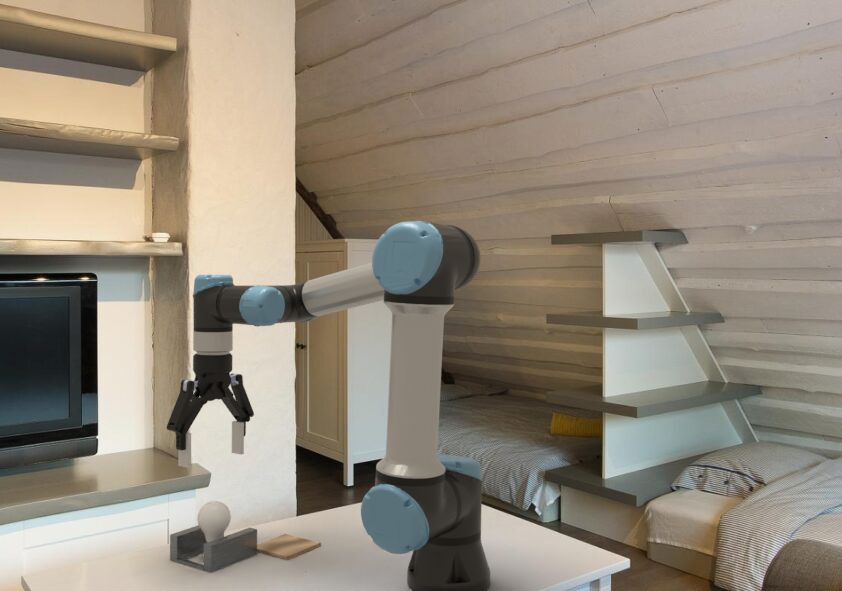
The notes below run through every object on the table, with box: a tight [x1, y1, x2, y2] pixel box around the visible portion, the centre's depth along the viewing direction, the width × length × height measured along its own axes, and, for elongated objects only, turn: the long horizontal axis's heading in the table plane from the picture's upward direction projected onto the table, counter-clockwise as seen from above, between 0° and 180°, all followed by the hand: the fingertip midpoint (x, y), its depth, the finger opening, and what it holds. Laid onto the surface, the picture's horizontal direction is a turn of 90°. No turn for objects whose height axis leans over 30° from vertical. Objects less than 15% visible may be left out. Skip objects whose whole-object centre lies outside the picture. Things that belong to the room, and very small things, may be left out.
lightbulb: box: [196, 500, 232, 543], centre depth 157 cm, size 6×6×11 cm
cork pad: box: [257, 533, 322, 561], centre depth 163 cm, size 10×10×1 cm
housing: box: [169, 525, 258, 573], centre depth 157 cm, size 12×12×5 cm
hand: (212, 459), depth 158 cm, fingers open, 13 cm apart
